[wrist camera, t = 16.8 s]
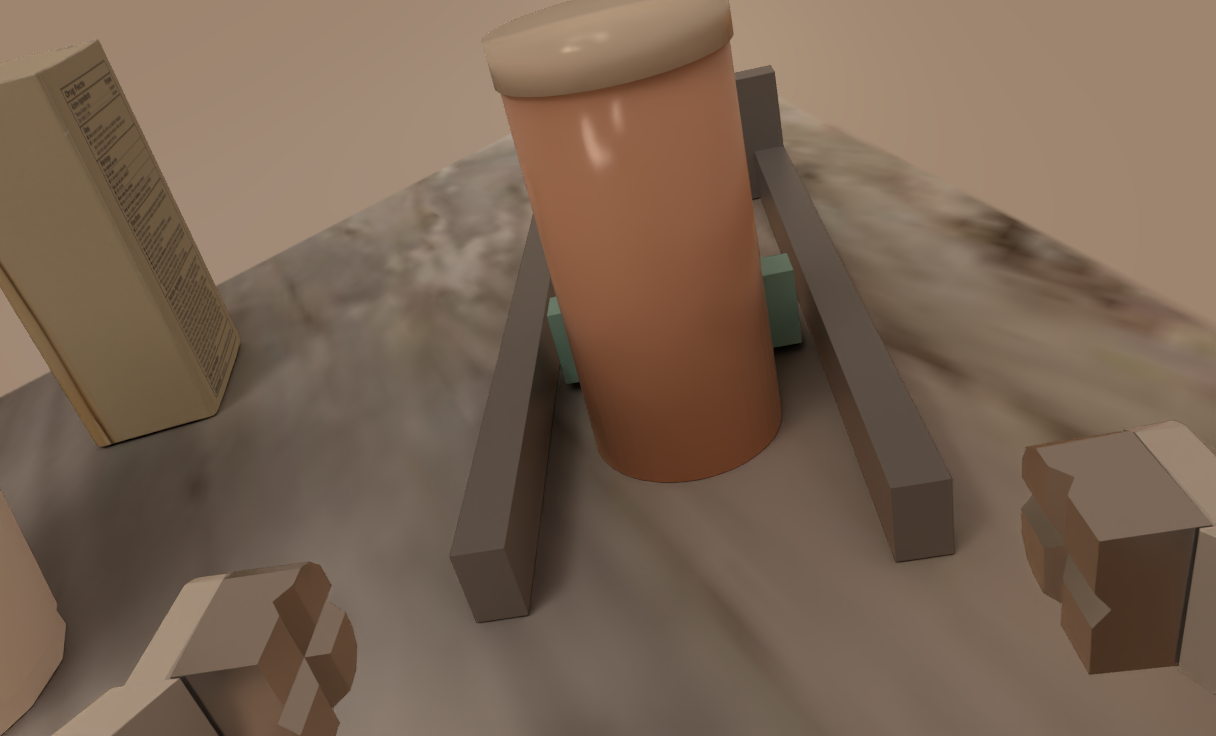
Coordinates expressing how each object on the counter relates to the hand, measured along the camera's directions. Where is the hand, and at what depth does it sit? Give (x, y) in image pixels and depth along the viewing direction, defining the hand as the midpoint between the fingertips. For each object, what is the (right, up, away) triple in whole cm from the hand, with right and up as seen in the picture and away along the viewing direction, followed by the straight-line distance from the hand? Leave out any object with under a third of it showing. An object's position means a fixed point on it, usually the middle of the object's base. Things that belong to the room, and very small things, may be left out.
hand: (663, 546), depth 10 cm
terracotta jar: (+2, +1, +15) cm, 15 cm away
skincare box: (-17, +1, +23) cm, 29 cm away
